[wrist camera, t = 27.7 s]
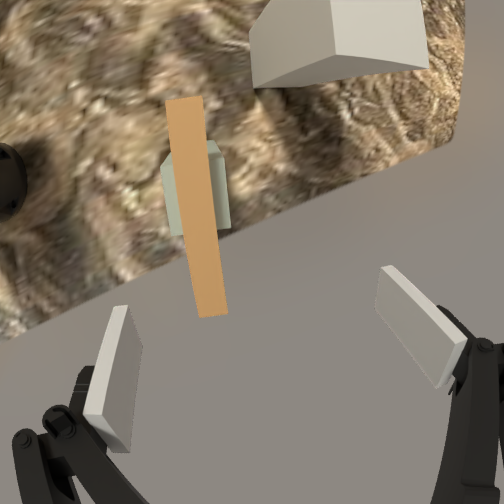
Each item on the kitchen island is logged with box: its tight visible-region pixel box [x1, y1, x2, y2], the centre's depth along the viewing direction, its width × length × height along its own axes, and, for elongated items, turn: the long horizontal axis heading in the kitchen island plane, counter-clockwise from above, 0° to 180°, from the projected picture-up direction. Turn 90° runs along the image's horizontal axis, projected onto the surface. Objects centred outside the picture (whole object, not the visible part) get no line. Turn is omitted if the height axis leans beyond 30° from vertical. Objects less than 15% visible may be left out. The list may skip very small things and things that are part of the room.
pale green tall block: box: [160, 140, 231, 236], centre depth 39 cm, size 6×7×22 cm
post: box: [249, 0, 429, 88], centre depth 29 cm, size 8×10×32 cm
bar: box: [165, 96, 228, 318], centre depth 28 cm, size 3×21×3 cm, turn 4°
